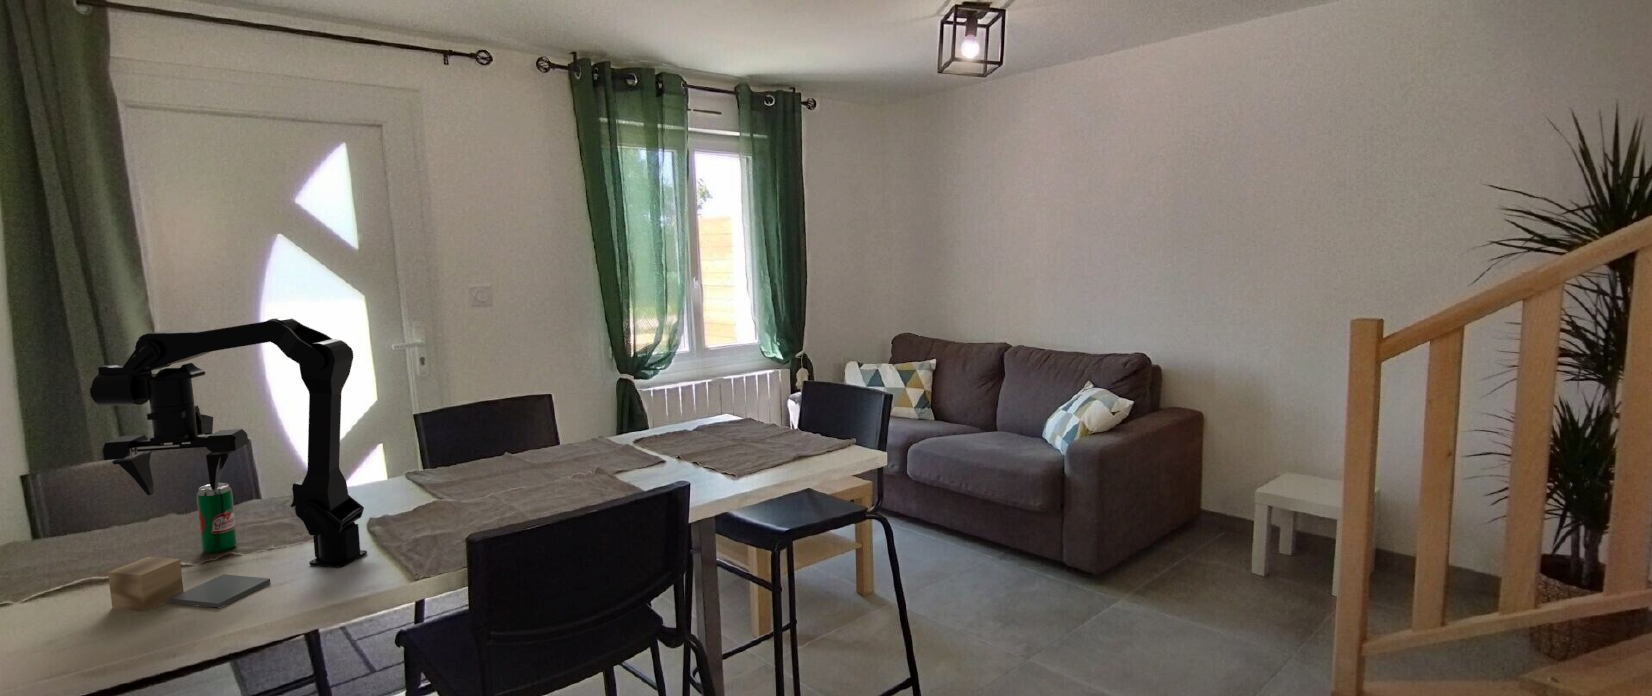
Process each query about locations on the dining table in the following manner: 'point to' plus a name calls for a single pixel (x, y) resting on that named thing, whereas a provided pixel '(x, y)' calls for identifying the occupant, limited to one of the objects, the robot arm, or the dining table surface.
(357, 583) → the dining table surface
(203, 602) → the slate coaster
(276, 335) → the robot arm
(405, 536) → the dining table surface
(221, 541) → the soda can
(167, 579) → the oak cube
